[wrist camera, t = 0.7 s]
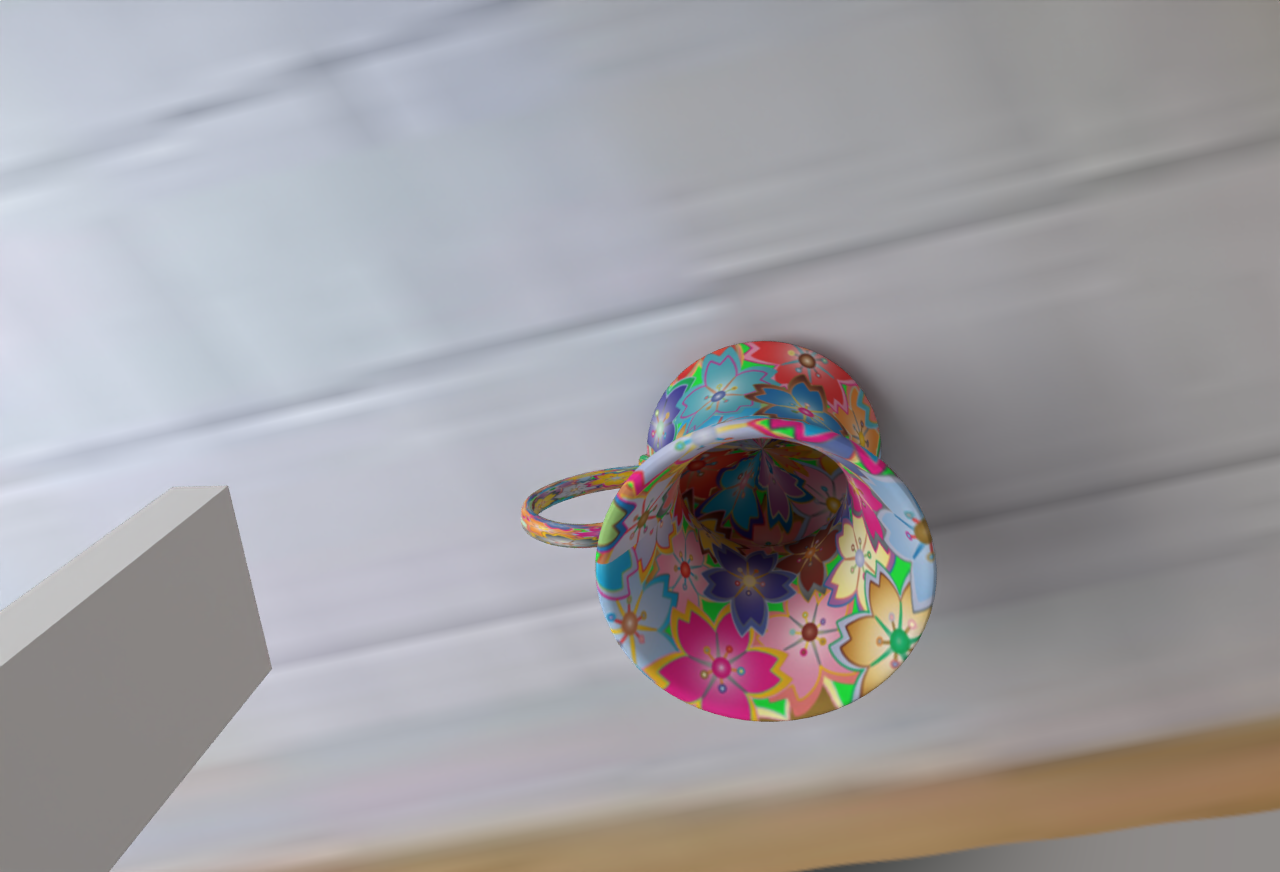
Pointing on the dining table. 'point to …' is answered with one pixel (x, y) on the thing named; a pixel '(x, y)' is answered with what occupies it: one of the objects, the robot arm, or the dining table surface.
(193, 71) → the dining table surface
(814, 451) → the mug
